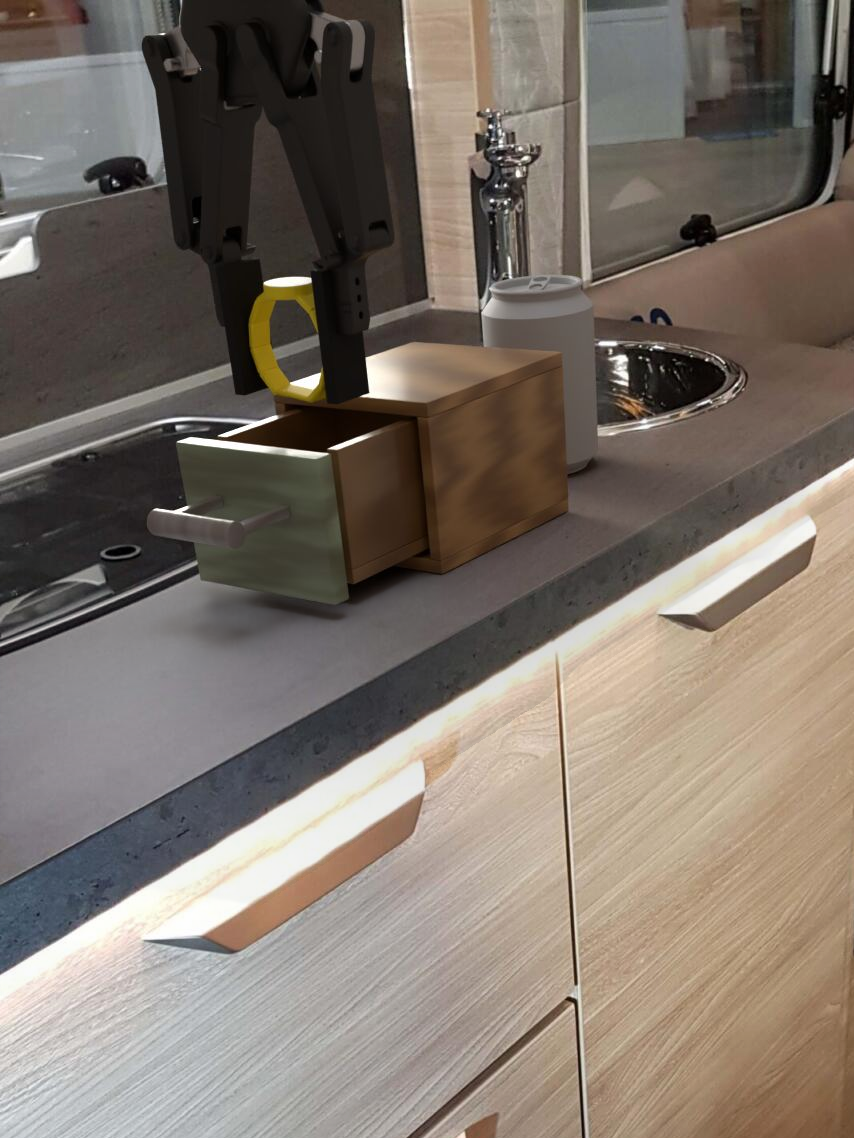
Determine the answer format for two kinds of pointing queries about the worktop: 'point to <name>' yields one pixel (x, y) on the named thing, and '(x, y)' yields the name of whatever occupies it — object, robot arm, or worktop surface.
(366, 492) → the drawer
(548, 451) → the cabinet
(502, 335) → the can
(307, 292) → the watch
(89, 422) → the worktop surface
